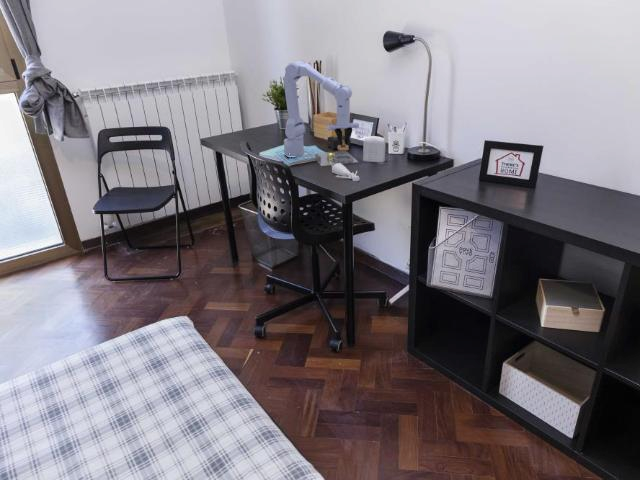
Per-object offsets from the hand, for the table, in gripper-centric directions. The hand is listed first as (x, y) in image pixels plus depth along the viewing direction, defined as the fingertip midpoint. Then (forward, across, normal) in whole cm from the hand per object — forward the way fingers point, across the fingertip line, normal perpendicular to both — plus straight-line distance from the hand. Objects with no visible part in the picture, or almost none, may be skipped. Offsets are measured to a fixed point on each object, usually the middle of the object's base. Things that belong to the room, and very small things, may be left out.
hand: (343, 144), depth 222 cm
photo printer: (+9, +13, -5) cm, 17 cm away
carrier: (+9, -3, +5) cm, 10 cm away
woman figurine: (+9, -5, -19) cm, 22 cm away
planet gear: (+2, 0, 0) cm, 2 cm away
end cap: (+9, +4, +22) cm, 24 cm away
